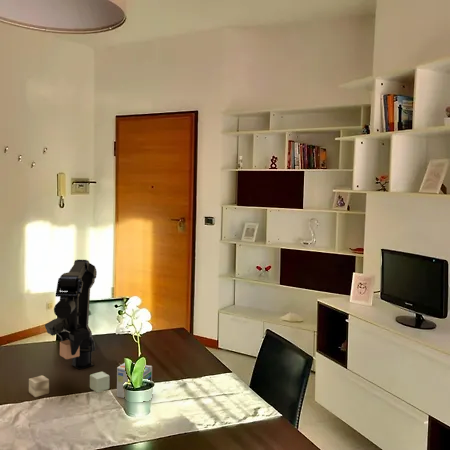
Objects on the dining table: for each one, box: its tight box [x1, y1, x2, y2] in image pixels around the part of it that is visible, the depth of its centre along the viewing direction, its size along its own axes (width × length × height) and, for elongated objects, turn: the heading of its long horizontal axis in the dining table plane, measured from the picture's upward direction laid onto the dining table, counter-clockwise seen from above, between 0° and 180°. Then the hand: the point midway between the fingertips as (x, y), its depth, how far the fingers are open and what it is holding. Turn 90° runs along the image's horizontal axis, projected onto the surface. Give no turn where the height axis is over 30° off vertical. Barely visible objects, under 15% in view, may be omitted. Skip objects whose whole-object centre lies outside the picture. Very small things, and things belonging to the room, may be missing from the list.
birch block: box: [28, 375, 50, 398], centre depth 184 cm, size 5×5×5 cm
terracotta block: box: [59, 340, 80, 360], centre depth 187 cm, size 5×5×5 cm
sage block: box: [89, 371, 111, 393], centre depth 189 cm, size 5×5×5 cm
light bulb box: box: [116, 362, 153, 399], centre depth 184 cm, size 11×7×11 cm, turn 71°
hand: (69, 352), depth 187 cm, fingers closed on terracotta block, 5 cm apart
